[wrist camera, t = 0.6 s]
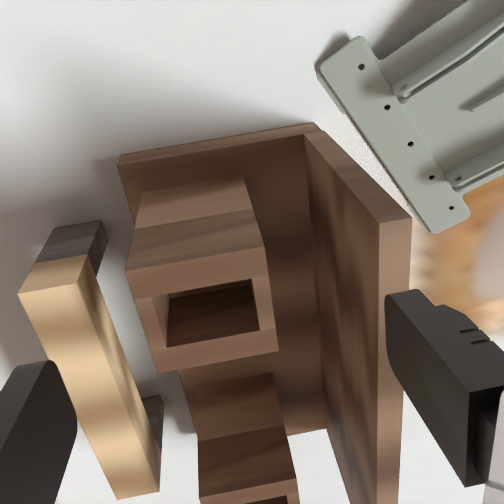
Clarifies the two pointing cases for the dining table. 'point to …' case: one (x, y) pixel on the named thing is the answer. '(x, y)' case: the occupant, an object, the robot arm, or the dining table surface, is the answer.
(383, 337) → the wooden pen holder stand
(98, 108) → the dining table surface
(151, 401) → the oak rail
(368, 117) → the metal bracket
